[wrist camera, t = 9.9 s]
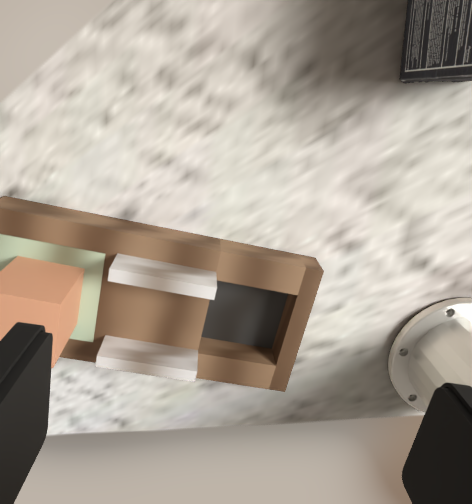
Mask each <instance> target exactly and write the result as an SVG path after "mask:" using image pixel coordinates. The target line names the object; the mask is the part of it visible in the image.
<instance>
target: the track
mask: <svg viewBox="0 0 472 504" xmlns="http://www.w3.org/2000/svg"><path fill="white" fill-rule="evenodd" d="M17 256H21V257H27V258H32V259H37V260H42V261H48V262H53V263H58V264H63V265H69V266H74V267H79V268H84V269H85V270H84V277H83V284H82V292H81V299H80V307H79V314H78V322H77V325H76V327H75V329H74V331H73V332H72V334H71V336H70V338H69V340H68V342H67V343H66V345H65V347H64V349H63V351H62V353H61V354H60V356H59V357H63V358H70V359H76V360H83V361H89V362H96V365H95V367H100V368H107V369H113V370H120V371H126V372H133V373H139V374H146V375H152V376H159V377H166V378H172V379H179V380H185V381H192V382H195V379H196V378H199V379H206V380H212V381H219V382H225V383H232V384H238V385H245V386H251V387H258V388H264V389H271V390H277V391H284V392H285V390H286V387H287V384H288V381H289V378H290V374H291V371H292V368H293V365H294V362H295V359H296V356H297V353H298V350H299V347H300V343H301V340H302V337H303V334H304V331H305V328H306V325H307V322H308V319H309V315H310V312H311V309H312V306H313V303H314V300H315V297H316V294H317V291H318V288H319V284H320V281H321V278H322V275H323V272H324V271H323V269H322V268H321V266H320V265H319V263H318V261H317V260H316V258H314V257H309V256H304V255H299V254H294V253H289V252H284V251H278V250H273V249H268V248H263V247H258V246H253V245H248V244H243V243H238V242H233V241H228V240H223V239H218V238H213V237H208V236H203V235H198V234H193V233H188V232H183V231H178V230H173V229H168V228H163V227H158V226H153V225H148V224H143V223H138V222H133V221H128V220H123V219H118V218H113V217H108V216H102V215H97V214H92V213H87V212H82V211H77V210H72V209H67V208H62V207H57V206H52V205H47V204H42V203H37V202H32V201H27V200H22V199H17V198H12V197H7V196H4V197H2V198H0V271H1V270H2V269H4V268H5V267H6V266H7V265H8V264H9V263H10V262H11V261H13V260H14V259H15V258H16V257H17Z"/></svg>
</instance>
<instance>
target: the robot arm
mask: <svg viewBox="0 0 472 504" xmlns="http://www.w3.org/2000/svg"><path fill="white" fill-rule="evenodd" d="M52 345H53V335H52V333H48V332H46V330H45V327H44V325H37V324H30V323H23V322H17V323H16V324H15V325H14V326H13V327H12V328H11V329H10V330H9V332H8V333H7V334H6V335H5V336H4V337H3V338H2V339H1V341H0V504H14V501H15V499H16V498H17V496H18V493H19V491H20V489H21V487H22V485H23V483H24V481H25V479H26V477H27V475H28V473H29V471H30V469H31V467H32V465H33V463H34V461H35V459H36V457H37V455H38V453H39V451H40V449H41V447H42V445H43V443H44V440H45V437H46V434H47V428H48V413H49V396H50V379H51V362H52ZM388 371H389V375H390V380H391V382H392V384H393V386H394V388H395V389H396V391H397V392H398V394H399V395H400V397H401V398H402V399H403V400H404V401H405V402H406V403H407V404H409V405H411V406H412V407H414V408H416V409H418V410H421V411H423V412H426V413H425V415H424V418H423V420H422V423H421V425H420V428H419V430H418V433H417V435H416V438H415V440H414V443H413V445H412V448H411V450H410V453H409V456H408V458H407V460H406V462H405V465H404V468H403V471H402V480H403V484H404V487H405V489H406V491H407V493H408V495H409V497H410V499H411V501H412V504H472V298H456V299H450V300H446V301H443V302H440V303H437V304H434V305H432V306H430V307H428V308H426V309H425V310H423V311H421V312H420V313H419V314H417V315H416V316H414V317H413V318H412V319H411V320H410V321H409V322H408V323H407V324H406V325H405V326H404V327H403V328H402V330H401V331H400V332H399V334H398V335H397V337H396V338H395V341H394V343H393V345H392V347H391V350H390V355H389V359H388Z"/></svg>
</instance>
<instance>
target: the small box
mask: <svg viewBox="0 0 472 504" xmlns="http://www.w3.org/2000/svg"><path fill="white" fill-rule="evenodd" d="M400 80H401V81H402V82H403V83H410V82H422V81H424V82H429V81H431V82H432V81H442V82H443V81H452V82H460V81H461V82H462V81H472V0H408V7H407V16H406V24H405V33H404V43H403V52H402V63H401V73H400Z"/></svg>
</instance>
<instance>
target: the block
mask: <svg viewBox="0 0 472 504" xmlns="http://www.w3.org/2000/svg"><path fill="white" fill-rule="evenodd" d="M84 270H85V269H84V268H79V267H74V266H69V265H63V264H58V263H53V262H48V261H42V260H37V259H32V258H27V257H21V256H17V257H16V258H15V259H14V260H13V261H11V262H10V263H9V264H8V265H7V266H6V267H5V268H4V269H2V270H1V271H0V341H1V339H2V338H3V337H4V336H5V335H6V334H7V333H8V332H9V330H10V329H11V328H12V327H13V326H14V325H15V324H16V323H17V322H23V323H30V324H37V325H44V327H45V330H46V332H48V333H52V335H53V345H52V362H51V368H53V367H54V365H55V363H56V362H57V360H58V358H59V356H60V354H61V353H62V351H63V349H64V347H65V345H66V343H67V342H68V340H69V338H70V336H71V334H72V332H73V331H74V329H75V327H76V325H77V322H78V314H79V307H80V299H81V292H82V284H83V277H84Z"/></svg>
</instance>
